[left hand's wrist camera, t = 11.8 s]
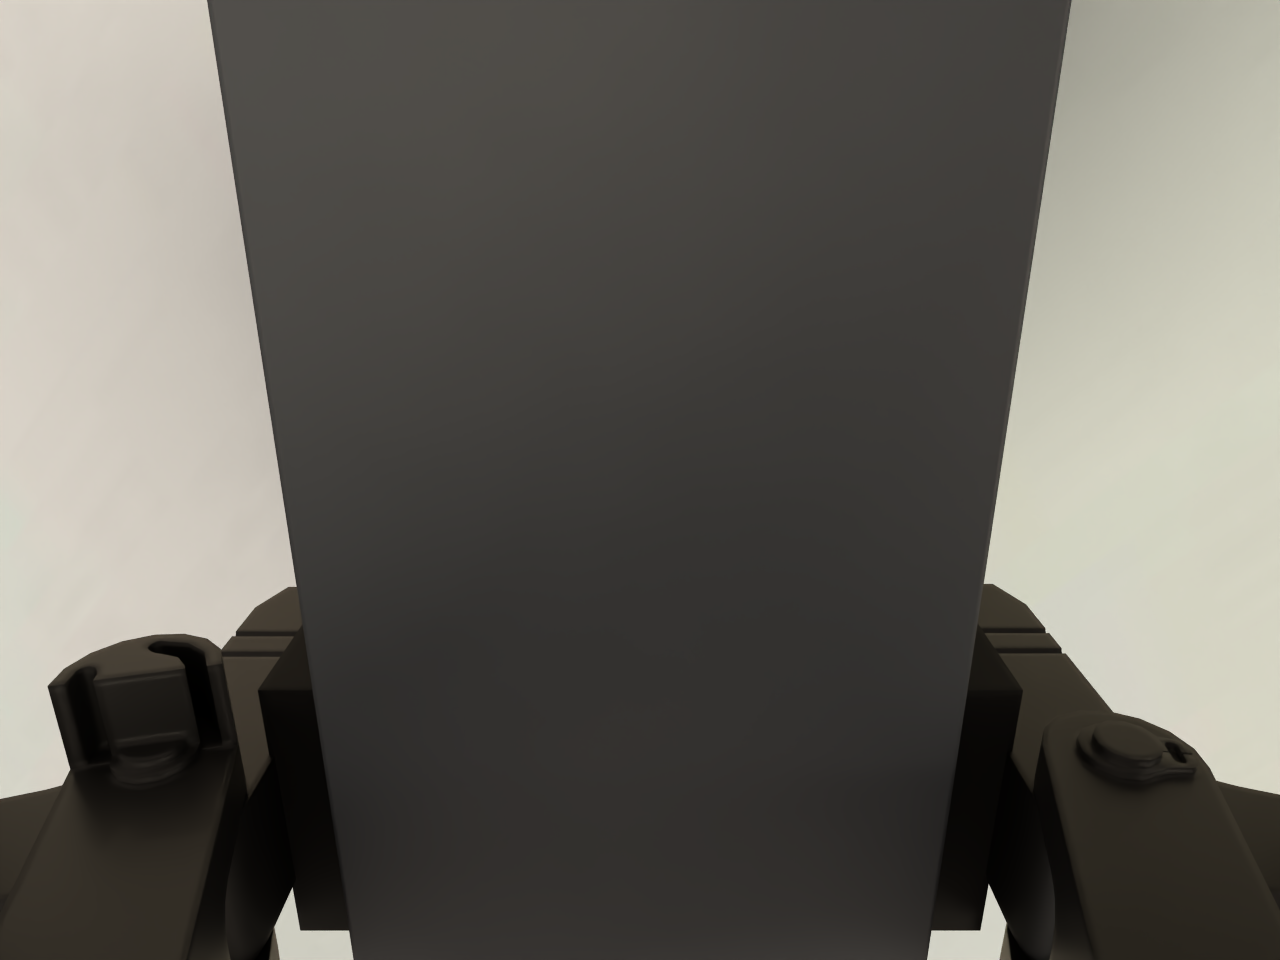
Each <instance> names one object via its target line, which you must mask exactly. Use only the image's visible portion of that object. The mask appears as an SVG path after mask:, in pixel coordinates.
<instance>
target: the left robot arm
mask: <svg viewBox="0 0 1280 960" xmlns="http://www.w3.org/2000/svg"><path fill="white" fill-rule="evenodd" d="M1061 649H1062V648H1061V647H1060V646H1059V645H1058V643H1057V642H1056V641H1055V640H1054V638H1053V637H1052V636H1051V635H1050V634H1049V633H1046V632H1045V627H1044V626H1043V625H1042V624H1041V622H1040V621H1039V620H1038V619H1037V617H1036V616H1035V615H1034V614H1033V613H1032V611H1031V610H1030V609H1029V608H1028V606H1027V605H1026V604H1024V603H1023V602H1021V601H1019V600H1018V599H1016V598H1015V597H1013V596H1011V595H1010V594H1008V593H1006V592H1005V591H1003V590H1002V589H1000V588H998V587H997V586H995V585H993V584H983V591H982V597H981V604H980V611H979V617H978V624H977V630H976V637H975V644H974V650H973V657H972V664H971V670H970V677H969V684H968V690H967V697H966V704H965V710H964V717H963V723H962V730H961V737H960V743H959V750H958V757H957V763H956V770H955V777H954V783H953V790H952V796H951V803H950V810H949V816H948V823H947V830H946V836H945V843H944V850H943V856H942V863H941V870H940V876H939V883H938V889H937V896H936V903H935V909H934V916H933V923H932V929H931V930H980V929H981V923H982V918H983V912H984V907H985V901H986V896H987V890H988V884H989V885H990V887H991V889H992V892H993V894H994V896H995V898H996V900H997V902H998V905H999V907H1000V909H1001V911H1002V913H1003V915H1004V918H1005V920H1006V922H1007V923H1006V929H1005V934H1004V939H1003V944H1002V950H1001V955H1000V960H1280V795H1278V794H1273V793H1268V792H1263V791H1258V790H1253V789H1248V788H1243V787H1238V786H1234V785H1230V784H1227V783H1223V782H1219V781H1216V780H1215V778H1214V776H1213V774H1212V772H1211V770H1210V768H1209V767H1208V765H1207V764H1206V763H1205V762H1204V760H1203V759H1202V758H1201V757H1200V755H1199V754H1198V753H1197V752H1196V750H1195V749H1194V748H1192V747H1191V746H1189V745H1188V744H1187V743H1185V742H1184V741H1182V740H1181V739H1179V738H1178V737H1177V736H1175V735H1174V734H1172V733H1171V732H1169V731H1167V730H1165V729H1162V728H1160V727H1158V726H1155V725H1153V724H1151V723H1148V722H1146V721H1144V720H1142V719H1139V718H1135V717H1131V716H1126V715H1122V714H1118V713H1114V712H1113V711H1112V710H1111V709H1110V708H1109V707H1108V705H1107V704H1106V703H1105V702H1104V700H1103V699H1102V698H1101V697H1100V695H1099V694H1098V693H1097V692H1096V690H1095V689H1094V688H1093V687H1092V685H1091V684H1090V683H1089V682H1088V681H1087V679H1086V678H1085V677H1084V676H1083V674H1082V673H1081V672H1080V671H1079V669H1078V668H1077V667H1076V666H1075V664H1074V663H1073V662H1072V661H1071V660H1070V658H1069V657H1068V656H1067V655H1066V654H1062V651H1061ZM48 690H49V693H50V697H51V700H52V704H53V708H54V711H55V715H56V719H57V722H58V726H59V729H60V733H61V737H62V740H63V744H64V748H65V751H66V755H67V758H68V762H69V766H70V771H69V773H68V775H67V777H66V779H65V782H64V784H63V785H62V786H58V787H55V788H51V789H47V790H43V791H38V792H33V793H28V794H23V795H18V796H13V797H8V798H3V799H0V960H280V958H279V951H278V944H277V939H276V934H275V929H274V926H275V924H276V922H277V920H278V917H279V915H280V913H281V911H282V909H283V907H284V904H285V902H286V900H287V898H288V896H289V893H290V891H291V889H292V887H293V891H294V897H295V903H296V908H297V914H298V919H299V925H300V930H349V925H348V919H347V912H346V906H345V899H344V893H343V886H342V880H341V873H340V867H339V860H338V853H337V847H336V840H335V834H334V827H333V821H332V814H331V808H330V801H329V795H328V788H327V781H326V775H325V768H324V762H323V755H322V749H321V742H320V736H319V729H318V723H317V716H316V709H315V703H314V696H313V690H312V683H311V677H310V670H309V664H308V657H307V651H306V644H305V637H304V631H303V624H302V618H301V611H300V605H299V598H298V592H297V587H288V588H286V589H284V590H283V591H281V592H280V593H278V594H276V595H275V596H273V597H272V598H270V599H268V600H267V601H265V602H263V603H262V604H260V605H259V606H257V607H255V609H254V610H253V611H252V612H251V614H250V615H249V616H248V617H247V619H246V620H245V621H244V622H243V624H242V625H241V626H240V627H239V628H238V630H237V631H236V636H232V637H231V638H230V640H229V641H228V642H227V643H226V645H225V646H224V647H223V648H222V650H221V649H220V648H219V647H217V646H216V645H215V644H213V643H212V642H211V641H210V640H208V639H206V638H201V637H196V636H192V635H187V634H165V635H151V636H147V637H142V638H137V639H132V640H127V641H122V642H119V643H117V644H114V645H111V646H109V647H106V648H103V649H101V650H98V651H95V652H92V653H90V654H88V655H87V656H85V657H83V658H82V659H80V660H78V661H77V662H75V663H73V664H72V665H70V666H68V667H66V668H65V669H64V670H63V671H62V672H61V673H60V674H59V675H58V676H57V677H56V678H55V679H54V680H53V681H52V682H51V683H50V684H49V685H48Z"/></svg>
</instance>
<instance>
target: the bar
mask: <svg viewBox="0 0 1280 960" xmlns="http://www.w3.org/2000/svg"><path fill="white" fill-rule="evenodd" d="M207 2H208V9H209V16H210V22H211V29H212V35H213V42H214V48H215V55H216V61H217V68H218V74H219V81H220V88H221V94H222V101H223V107H224V114H225V120H226V127H227V133H228V140H229V146H230V153H231V160H232V166H233V173H234V179H235V186H236V192H237V199H238V205H239V212H240V218H241V225H242V232H243V238H244V245H245V251H246V258H247V264H248V271H249V277H250V284H251V290H252V297H253V304H254V310H255V317H256V323H257V330H258V336H259V343H260V349H261V356H262V362H263V369H264V376H265V382H266V389H267V395H268V402H269V408H270V415H271V421H272V428H273V434H274V441H275V448H276V454H277V461H278V467H279V474H280V480H281V487H282V493H283V500H284V507H285V513H286V520H287V526H288V533H289V539H290V546H291V552H292V559H293V565H294V572H295V579H296V585H297V592H298V598H299V605H300V611H301V618H302V624H303V631H304V637H305V644H306V651H307V657H308V664H309V670H310V677H311V683H312V690H313V696H314V703H315V709H316V716H317V723H318V729H319V736H320V742H321V749H322V755H323V762H324V768H325V775H326V781H327V788H328V795H329V801H330V808H331V814H332V821H333V827H334V834H335V840H336V847H337V853H338V860H339V867H340V873H341V880H342V886H343V893H344V899H345V906H346V912H347V919H348V925H349V932H350V939H351V945H352V952H353V958H354V960H927V956H928V949H929V943H930V936H931V929H932V923H933V916H934V909H935V903H936V896H937V889H938V883H939V876H940V870H941V863H942V856H943V850H944V843H945V836H946V830H947V823H948V816H949V810H950V803H951V796H952V790H953V783H954V777H955V770H956V763H957V757H958V750H959V743H960V737H961V730H962V723H963V717H964V710H965V704H966V697H967V690H968V684H969V677H970V670H971V664H972V657H973V650H974V644H975V637H976V630H977V624H978V617H979V611H980V604H981V597H982V591H983V584H984V577H985V571H986V564H987V557H988V551H989V544H990V538H991V531H992V524H993V518H994V511H995V504H996V498H997V491H998V484H999V478H1000V471H1001V464H1002V458H1003V451H1004V445H1005V438H1006V431H1007V425H1008V418H1009V411H1010V405H1011V398H1012V391H1013V385H1014V378H1015V372H1016V365H1017V358H1018V352H1019V345H1020V338H1021V332H1022V325H1023V318H1024V312H1025V305H1026V298H1027V292H1028V285H1029V279H1030V272H1031V265H1032V259H1033V252H1034V245H1035V239H1036V232H1037V225H1038V219H1039V212H1040V206H1041V199H1042V192H1043V186H1044V179H1045V172H1046V166H1047V159H1048V152H1049V146H1050V139H1051V132H1052V126H1053V119H1054V113H1055V106H1056V99H1057V93H1058V86H1059V79H1060V73H1061V66H1062V59H1063V53H1064V46H1065V40H1066V33H1067V26H1068V20H1069V13H1070V6H1071V0H207Z"/></svg>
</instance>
